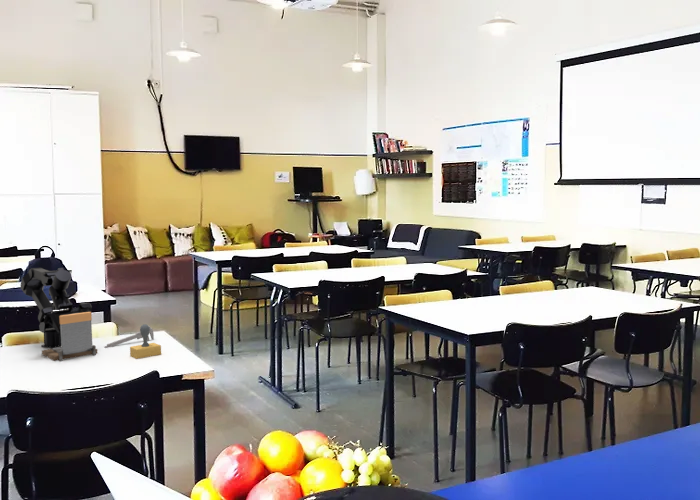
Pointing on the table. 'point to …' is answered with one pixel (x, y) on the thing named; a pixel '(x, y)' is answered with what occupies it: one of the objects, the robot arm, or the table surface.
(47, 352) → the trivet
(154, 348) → the rubber stamp
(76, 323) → the gray slab
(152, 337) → the caliper
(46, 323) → the robot arm
